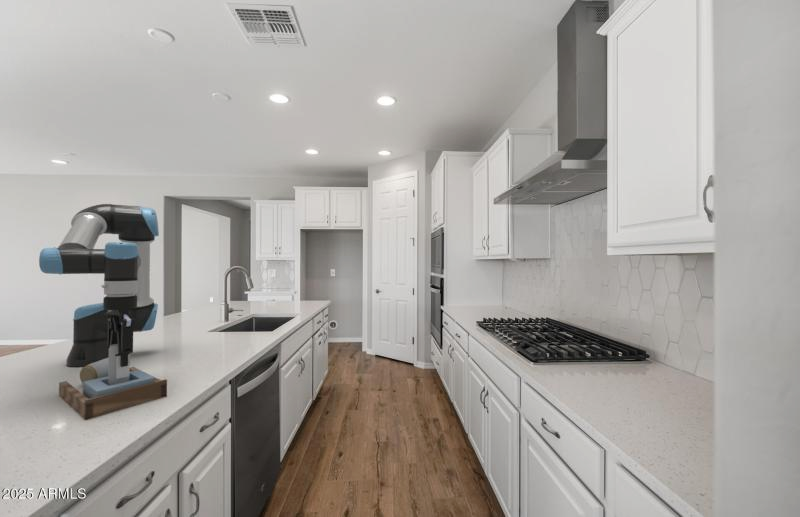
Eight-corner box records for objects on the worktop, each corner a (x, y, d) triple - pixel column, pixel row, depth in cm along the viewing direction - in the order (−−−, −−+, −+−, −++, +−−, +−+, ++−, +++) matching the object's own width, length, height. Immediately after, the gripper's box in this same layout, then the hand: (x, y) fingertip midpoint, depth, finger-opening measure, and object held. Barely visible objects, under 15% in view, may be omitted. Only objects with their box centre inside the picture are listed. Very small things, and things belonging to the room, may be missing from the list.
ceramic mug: (76, 386, 108) (77, 363, 108) (103, 377, 116) (104, 356, 116) (103, 389, 106) (104, 365, 106) (128, 380, 114) (129, 358, 114)
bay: (58, 399, 97) (59, 379, 98) (133, 381, 112) (133, 364, 112) (85, 424, 83) (85, 400, 83) (166, 400, 98) (167, 380, 98)
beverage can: (105, 390, 92) (106, 348, 92) (110, 384, 96) (111, 343, 97) (127, 387, 94) (128, 346, 94) (131, 382, 99) (132, 342, 99)
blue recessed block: (82, 403, 93) (83, 381, 93) (138, 388, 103) (139, 369, 103) (96, 414, 86) (97, 391, 86) (154, 397, 97) (155, 377, 97)
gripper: (94, 294, 97) (92, 372, 97) (115, 298, 88) (113, 386, 87) (125, 292, 104) (123, 366, 103) (148, 296, 94) (147, 378, 94)
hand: (119, 375), depth 95 cm, fingers closed on beverage can, 5 cm apart
